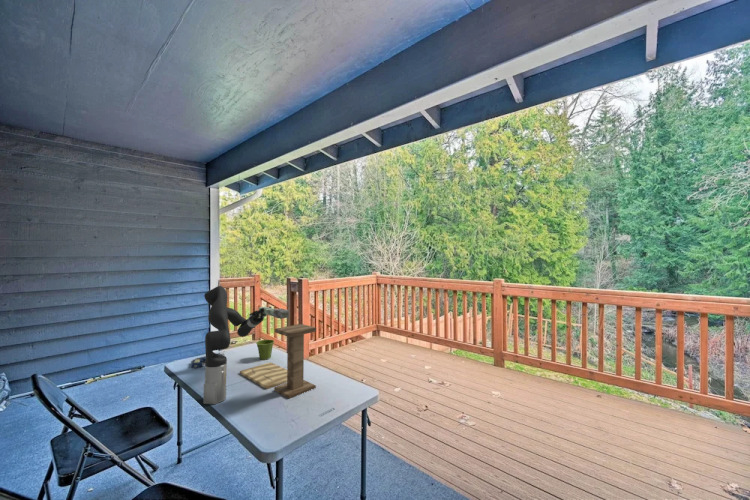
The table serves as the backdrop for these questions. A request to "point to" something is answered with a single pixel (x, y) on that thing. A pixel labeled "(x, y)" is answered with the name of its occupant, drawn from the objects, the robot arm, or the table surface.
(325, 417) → the table surface
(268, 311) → the sanding stick
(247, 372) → the pine board
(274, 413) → the table surface
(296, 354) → the shelf stand
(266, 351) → the plant pot
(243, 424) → the table surface
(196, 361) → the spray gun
